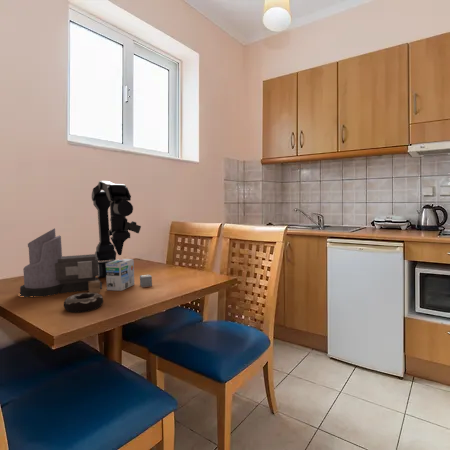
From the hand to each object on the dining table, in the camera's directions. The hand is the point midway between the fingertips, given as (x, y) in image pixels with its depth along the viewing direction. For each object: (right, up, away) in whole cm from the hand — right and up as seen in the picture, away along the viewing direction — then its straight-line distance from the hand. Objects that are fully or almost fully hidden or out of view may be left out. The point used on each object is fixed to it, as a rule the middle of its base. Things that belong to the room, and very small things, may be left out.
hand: (119, 255), depth 127 cm
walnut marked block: (-8, -14, -5) cm, 17 cm away
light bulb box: (0, -13, +1) cm, 13 cm away
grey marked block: (+10, -13, +3) cm, 16 cm away
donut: (-4, -15, -24) cm, 29 cm away
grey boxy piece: (-23, -14, -1) cm, 27 cm away
